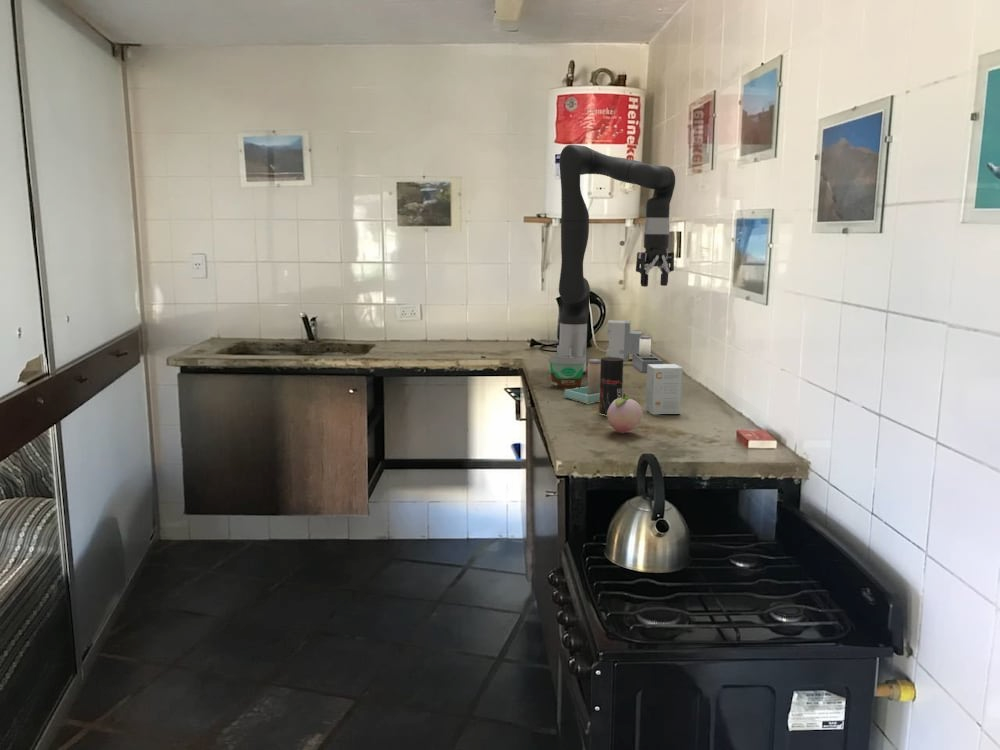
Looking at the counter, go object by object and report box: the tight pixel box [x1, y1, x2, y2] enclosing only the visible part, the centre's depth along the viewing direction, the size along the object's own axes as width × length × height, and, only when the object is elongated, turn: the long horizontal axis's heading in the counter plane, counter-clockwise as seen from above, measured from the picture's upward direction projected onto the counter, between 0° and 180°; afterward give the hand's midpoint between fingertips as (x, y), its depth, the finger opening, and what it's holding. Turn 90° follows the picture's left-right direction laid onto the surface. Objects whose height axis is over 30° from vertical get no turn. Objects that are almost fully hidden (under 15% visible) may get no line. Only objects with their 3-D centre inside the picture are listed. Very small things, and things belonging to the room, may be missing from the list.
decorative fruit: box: [606, 393, 643, 434], centre depth 194 cm, size 9×8×10 cm
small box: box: [645, 363, 684, 415], centre depth 216 cm, size 8×6×13 cm
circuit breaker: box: [605, 319, 643, 362], centre depth 296 cm, size 8×14×15 cm, turn 78°
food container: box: [547, 354, 587, 389], centre depth 249 cm, size 12×6×10 cm, turn 105°
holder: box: [631, 334, 664, 374], centre depth 278 cm, size 16×7×12 cm, turn 3°
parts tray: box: [564, 386, 624, 403], centre depth 234 cm, size 14×10×2 cm
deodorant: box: [598, 356, 624, 415], centre depth 214 cm, size 6×6×15 cm
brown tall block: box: [586, 358, 601, 395], centre depth 233 cm, size 4×4×11 cm
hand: (654, 286), depth 248 cm, fingers open, 8 cm apart
